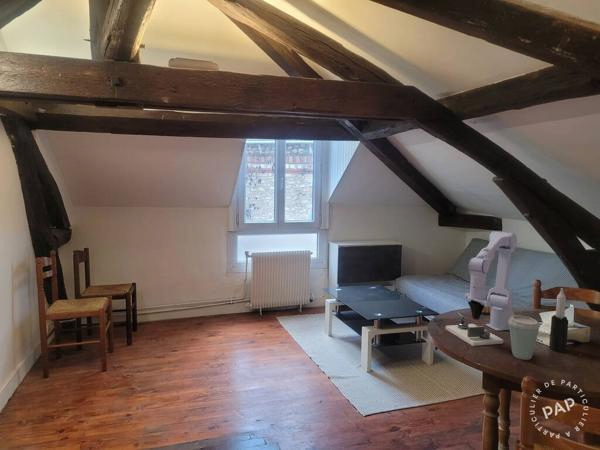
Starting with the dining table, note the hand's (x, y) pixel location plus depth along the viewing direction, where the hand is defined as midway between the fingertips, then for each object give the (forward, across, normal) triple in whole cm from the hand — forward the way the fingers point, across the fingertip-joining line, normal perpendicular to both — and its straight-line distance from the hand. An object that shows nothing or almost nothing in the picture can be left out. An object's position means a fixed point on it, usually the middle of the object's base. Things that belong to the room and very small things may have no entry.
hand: (476, 319), depth 172 cm
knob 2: (+8, 0, +1) cm, 8 cm away
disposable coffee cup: (+10, +17, +8) cm, 21 cm away
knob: (+8, -14, +3) cm, 16 cm away
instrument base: (+10, -6, +3) cm, 11 cm away
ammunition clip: (+10, -31, +29) cm, 43 cm away
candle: (+10, +14, +27) cm, 32 cm away
